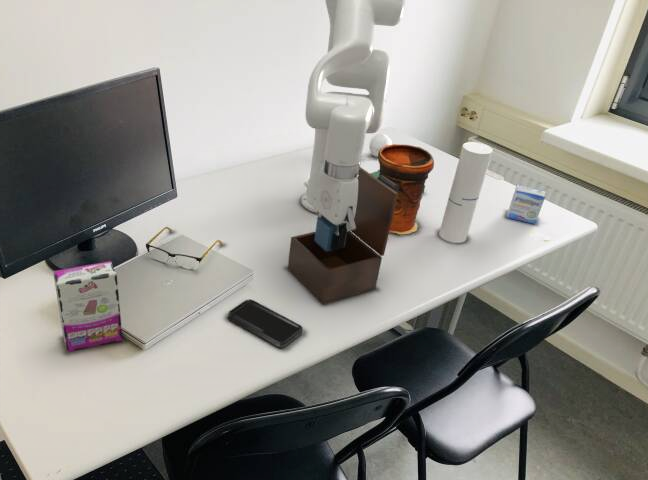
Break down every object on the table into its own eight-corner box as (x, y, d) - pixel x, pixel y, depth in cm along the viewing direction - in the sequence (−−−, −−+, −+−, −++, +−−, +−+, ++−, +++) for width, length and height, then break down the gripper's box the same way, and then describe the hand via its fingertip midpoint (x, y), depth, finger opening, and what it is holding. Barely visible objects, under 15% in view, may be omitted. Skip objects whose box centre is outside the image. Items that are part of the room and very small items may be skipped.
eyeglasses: (144, 259, 156) (143, 245, 153) (171, 231, 167) (171, 217, 164) (198, 274, 152) (199, 259, 150) (222, 244, 163) (223, 230, 161)
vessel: (360, 228, 175) (373, 158, 163) (372, 205, 186) (385, 138, 174) (413, 241, 171) (430, 171, 159) (423, 217, 182) (439, 150, 170)
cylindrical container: (466, 244, 171) (494, 155, 157) (439, 240, 172) (463, 151, 157) (465, 231, 177) (491, 144, 162) (438, 227, 178) (462, 140, 163)
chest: (323, 304, 146) (328, 271, 141) (287, 268, 157) (291, 237, 151) (375, 289, 152) (382, 257, 147) (337, 255, 163) (342, 225, 157)
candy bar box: (117, 326, 135) (112, 259, 125) (123, 341, 131) (118, 273, 122) (61, 337, 131) (52, 269, 121) (66, 353, 127) (56, 284, 118)
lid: (395, 193, 137) (415, 189, 140) (352, 163, 148) (372, 160, 150) (381, 256, 146) (400, 251, 149) (341, 223, 157) (360, 219, 159)
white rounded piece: (362, 155, 214) (366, 133, 209) (376, 149, 218) (380, 128, 214) (387, 165, 208) (391, 144, 204) (401, 160, 213) (405, 138, 208)
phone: (249, 298, 144) (304, 327, 137) (248, 302, 144) (304, 331, 137) (225, 313, 139) (282, 345, 132) (225, 318, 139) (281, 349, 132)
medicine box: (506, 218, 185) (515, 190, 180) (507, 211, 188) (516, 184, 183) (535, 224, 183) (545, 197, 178) (536, 217, 186) (546, 190, 181)
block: (314, 240, 148) (317, 217, 144) (332, 236, 150) (335, 213, 147) (326, 251, 144) (329, 228, 141) (344, 247, 147) (348, 223, 143)
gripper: (304, 154, 141) (295, 228, 151) (350, 187, 129) (337, 265, 140) (333, 149, 144) (322, 222, 154) (380, 181, 132) (365, 257, 143)
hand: (329, 241), depth 147 cm, fingers closed on block, 5 cm apart
